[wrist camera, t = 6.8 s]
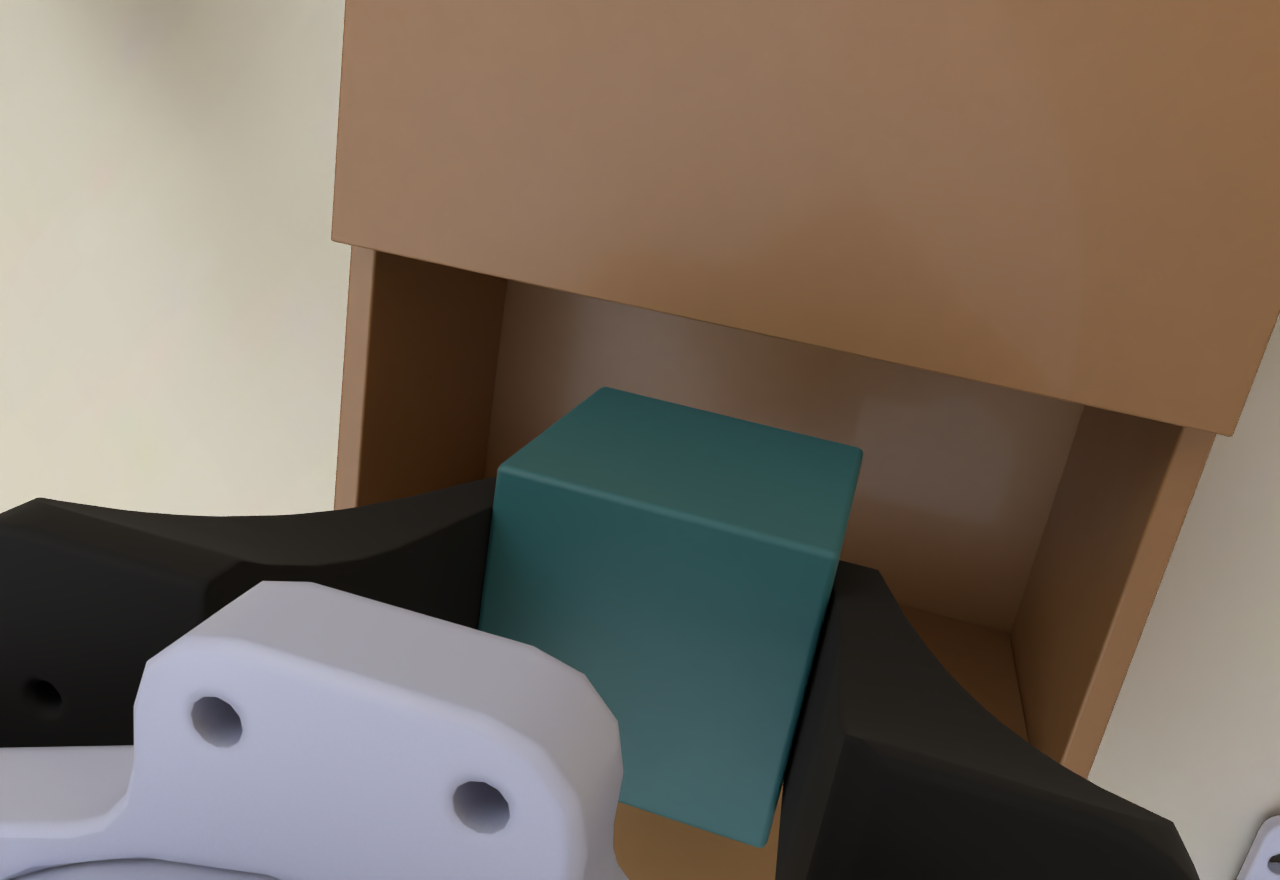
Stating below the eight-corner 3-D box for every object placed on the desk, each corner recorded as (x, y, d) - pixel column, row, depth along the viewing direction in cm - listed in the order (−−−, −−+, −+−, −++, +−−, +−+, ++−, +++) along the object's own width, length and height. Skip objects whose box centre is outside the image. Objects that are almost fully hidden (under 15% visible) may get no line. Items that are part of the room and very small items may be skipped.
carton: (1024, 646, 22) (1070, 873, 15) (469, 500, 24) (303, 642, 18) (1258, -59, 17) (1470, -172, 11) (545, -154, 20) (357, -293, 13)
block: (804, 685, 16) (764, 853, 12) (565, 615, 17) (459, 753, 13) (865, 447, 15) (840, 556, 11) (601, 383, 15) (495, 464, 12)
